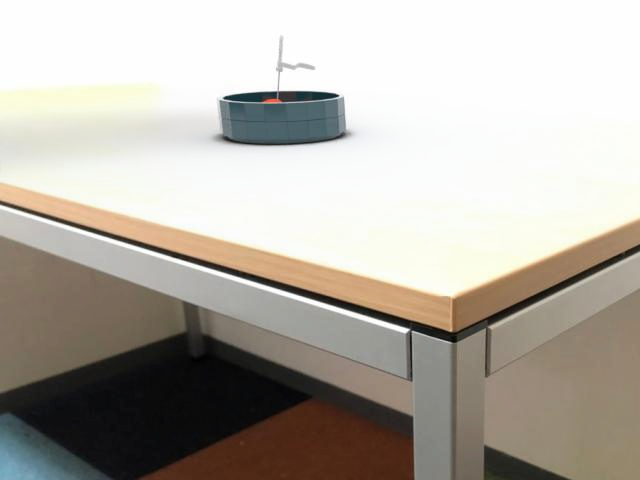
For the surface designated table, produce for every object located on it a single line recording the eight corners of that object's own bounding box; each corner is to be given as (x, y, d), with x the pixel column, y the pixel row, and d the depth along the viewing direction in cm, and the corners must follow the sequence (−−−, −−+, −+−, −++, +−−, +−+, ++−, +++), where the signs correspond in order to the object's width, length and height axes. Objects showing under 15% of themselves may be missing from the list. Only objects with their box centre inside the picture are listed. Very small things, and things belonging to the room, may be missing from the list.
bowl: (211, 146, 92) (205, 103, 90) (233, 127, 107) (228, 91, 105) (344, 143, 94) (342, 102, 92) (348, 125, 108) (346, 89, 106)
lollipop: (307, 136, 95) (300, 35, 90) (240, 133, 97) (229, 34, 92) (325, 129, 101) (319, 34, 96) (261, 127, 103) (252, 33, 98)
